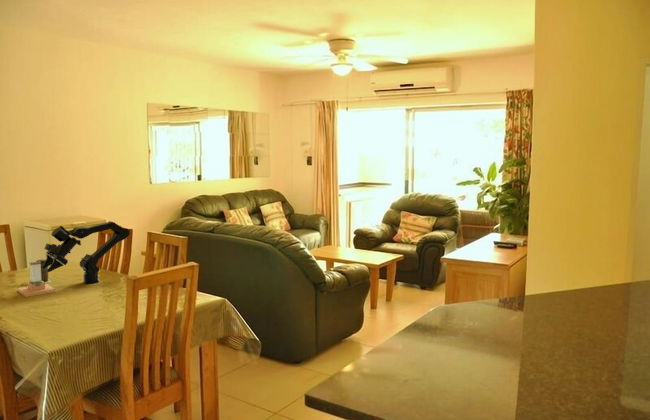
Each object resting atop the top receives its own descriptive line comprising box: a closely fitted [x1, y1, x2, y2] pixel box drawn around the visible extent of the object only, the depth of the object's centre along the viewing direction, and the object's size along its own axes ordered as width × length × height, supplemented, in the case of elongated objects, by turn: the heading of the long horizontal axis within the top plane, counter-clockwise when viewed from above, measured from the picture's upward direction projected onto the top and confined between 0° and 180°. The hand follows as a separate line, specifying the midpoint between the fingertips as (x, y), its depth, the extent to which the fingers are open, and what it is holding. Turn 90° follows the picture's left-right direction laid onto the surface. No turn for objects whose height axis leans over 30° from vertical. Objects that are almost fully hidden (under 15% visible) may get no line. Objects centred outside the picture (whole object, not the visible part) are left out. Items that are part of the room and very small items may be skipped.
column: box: [29, 261, 42, 283], centre depth 262 cm, size 5×4×10 cm
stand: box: [17, 281, 56, 298], centre depth 263 cm, size 14×14×5 cm
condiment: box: [35, 259, 52, 284], centre depth 282 cm, size 7×8×12 cm
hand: (45, 270), depth 265 cm, fingers open, 9 cm apart
